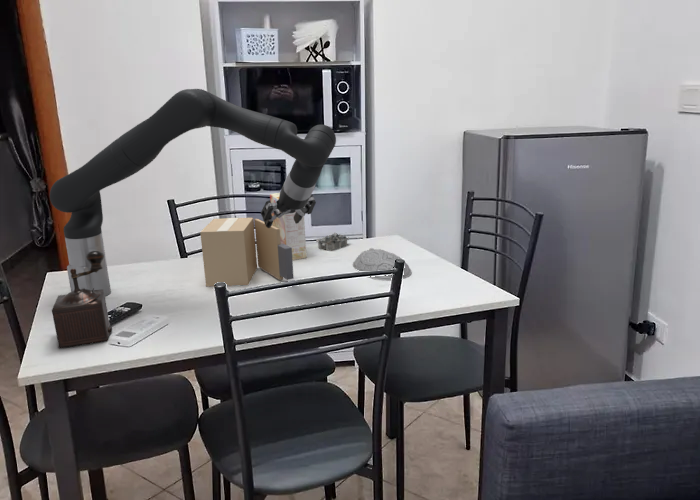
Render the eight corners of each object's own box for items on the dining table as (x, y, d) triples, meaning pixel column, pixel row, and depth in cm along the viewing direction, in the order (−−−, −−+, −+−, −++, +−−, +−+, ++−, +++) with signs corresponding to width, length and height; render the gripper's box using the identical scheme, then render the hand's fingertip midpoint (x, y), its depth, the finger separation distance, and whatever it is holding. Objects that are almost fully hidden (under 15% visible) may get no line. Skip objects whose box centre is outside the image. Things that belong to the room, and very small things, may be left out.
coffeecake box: (273, 250, 201) (269, 193, 195) (293, 247, 203) (289, 191, 198) (286, 261, 187) (282, 201, 182) (307, 258, 190) (304, 199, 185)
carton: (218, 268, 182) (213, 218, 177) (257, 267, 182) (253, 217, 177) (206, 286, 167) (200, 231, 162) (248, 285, 166) (243, 230, 162)
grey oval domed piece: (380, 284, 163) (381, 260, 162) (339, 265, 185) (340, 244, 184) (426, 279, 170) (427, 257, 169) (381, 262, 192) (382, 242, 191)
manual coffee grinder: (111, 341, 133) (99, 265, 128) (57, 349, 130) (43, 272, 125) (114, 316, 147) (103, 247, 142) (66, 323, 144) (53, 253, 139)
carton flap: (258, 266, 182) (254, 219, 177) (264, 265, 183) (260, 218, 178) (287, 284, 164) (284, 233, 160) (293, 283, 165) (290, 231, 161)
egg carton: (329, 252, 197) (329, 240, 195) (314, 248, 202) (313, 237, 200) (351, 245, 204) (350, 233, 203) (335, 241, 209) (335, 230, 208)
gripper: (317, 173, 155) (299, 208, 168) (267, 179, 148) (253, 215, 161) (327, 196, 152) (309, 230, 165) (277, 203, 145) (262, 238, 158)
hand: (281, 223), depth 163 cm, fingers open, 8 cm apart
